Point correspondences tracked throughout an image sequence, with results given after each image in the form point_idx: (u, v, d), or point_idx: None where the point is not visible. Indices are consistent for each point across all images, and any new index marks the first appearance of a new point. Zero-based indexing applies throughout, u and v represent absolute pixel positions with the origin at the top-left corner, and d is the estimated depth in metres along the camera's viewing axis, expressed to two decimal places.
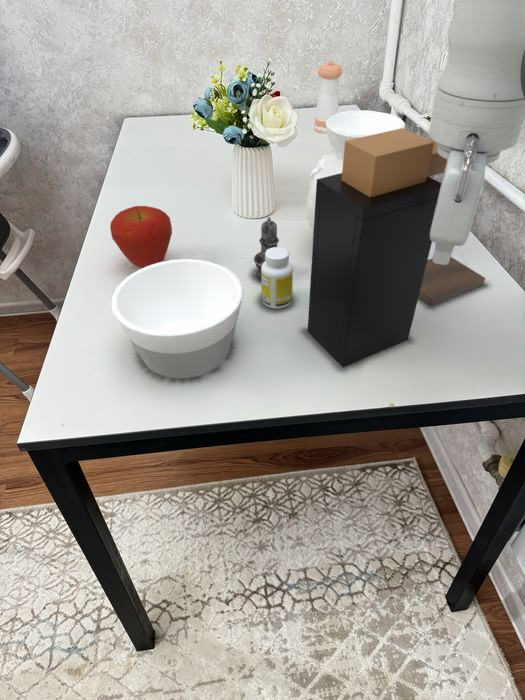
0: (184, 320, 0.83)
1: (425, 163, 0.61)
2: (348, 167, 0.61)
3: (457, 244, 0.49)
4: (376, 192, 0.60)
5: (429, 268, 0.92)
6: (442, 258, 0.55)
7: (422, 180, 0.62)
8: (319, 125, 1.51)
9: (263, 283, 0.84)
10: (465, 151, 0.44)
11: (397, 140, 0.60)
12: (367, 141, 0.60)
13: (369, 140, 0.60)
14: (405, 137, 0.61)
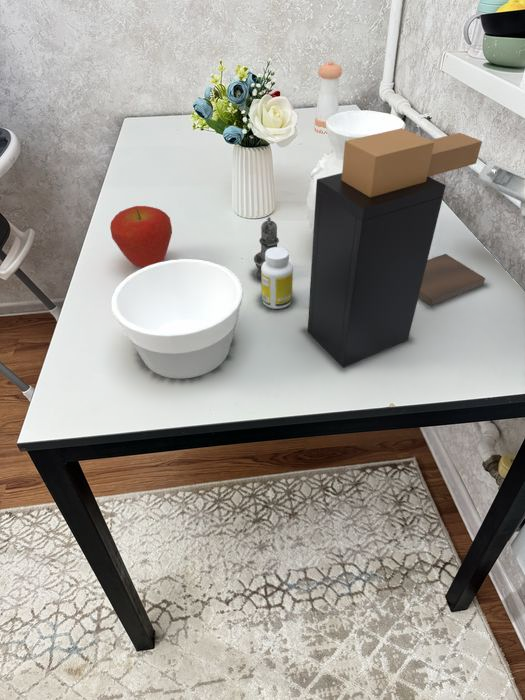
0: (184, 320, 0.83)
1: (425, 163, 0.61)
2: (348, 167, 0.61)
3: (486, 163, 0.86)
4: (376, 192, 0.60)
5: (429, 268, 0.92)
6: None
7: (422, 180, 0.62)
8: (319, 125, 1.51)
9: (263, 283, 0.84)
10: None
11: (397, 140, 0.60)
12: (367, 141, 0.60)
13: (369, 140, 0.60)
14: (405, 137, 0.61)
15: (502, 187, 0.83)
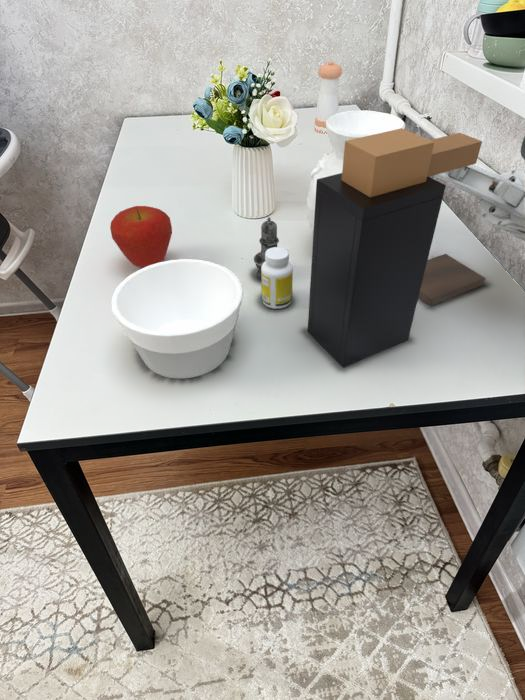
0: (184, 320, 0.83)
1: (425, 163, 0.61)
2: (348, 167, 0.61)
3: None
4: (376, 192, 0.60)
5: (429, 268, 0.92)
6: None
7: (422, 180, 0.62)
8: (319, 125, 1.51)
9: (263, 283, 0.84)
10: None
11: (397, 140, 0.60)
12: (367, 141, 0.60)
13: (369, 140, 0.60)
14: (405, 137, 0.61)
15: (458, 182, 0.77)
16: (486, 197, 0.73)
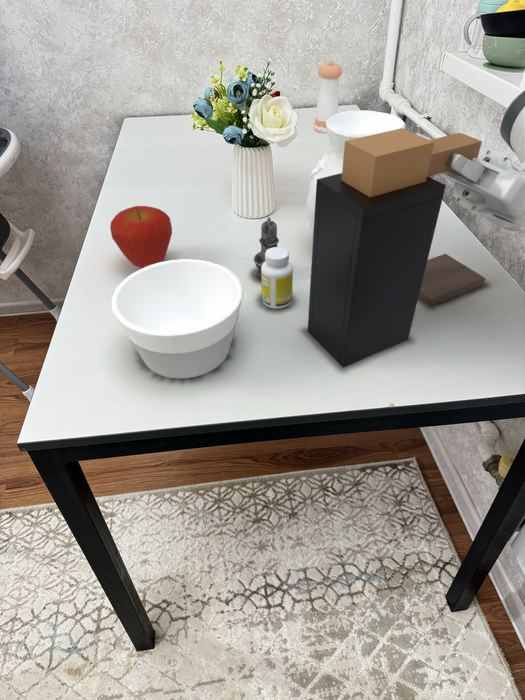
0: (184, 320, 0.83)
1: (425, 163, 0.61)
2: (348, 167, 0.61)
3: None
4: (376, 192, 0.60)
5: (429, 268, 0.92)
6: None
7: (422, 180, 0.62)
8: (319, 125, 1.51)
9: (263, 283, 0.84)
10: None
11: (397, 140, 0.60)
12: (367, 141, 0.60)
13: (369, 140, 0.60)
14: (405, 137, 0.61)
15: None
16: (457, 179, 0.68)
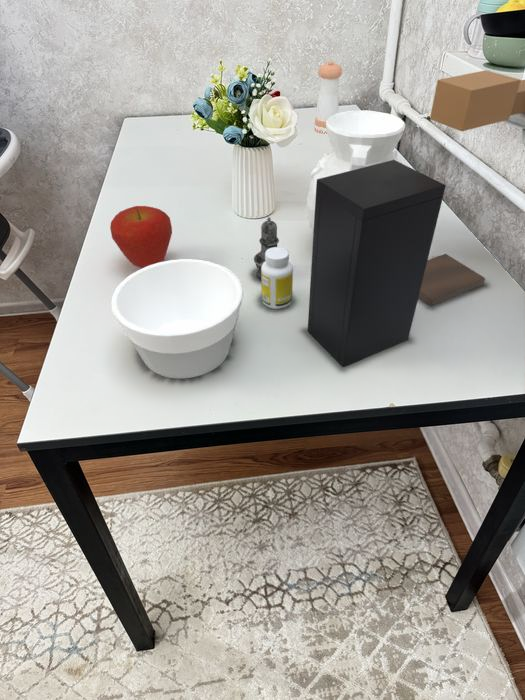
0: (184, 320, 0.83)
1: (510, 100, 0.66)
2: (439, 105, 0.66)
3: None
4: (467, 126, 0.65)
5: (429, 268, 0.92)
6: None
7: (506, 117, 0.67)
8: (319, 125, 1.51)
9: (263, 283, 0.84)
10: None
11: (486, 79, 0.65)
12: (458, 80, 0.65)
13: (460, 79, 0.65)
14: (492, 76, 0.66)
15: None
16: None
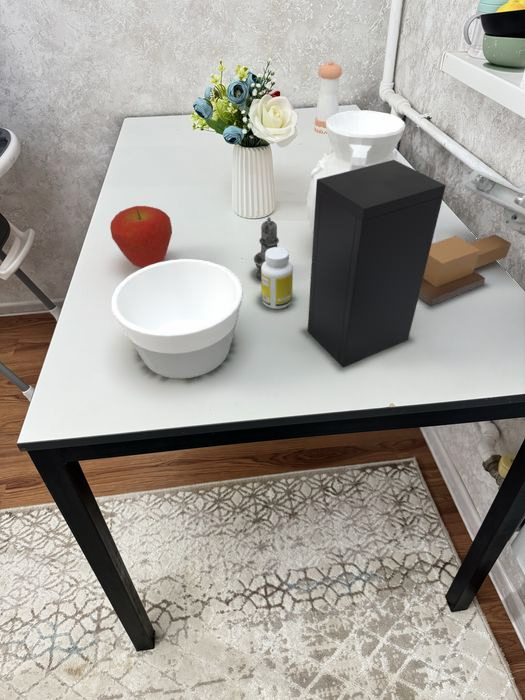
0: (184, 320, 0.83)
1: (473, 263, 0.89)
2: None
3: None
4: (440, 283, 0.88)
5: None
6: None
7: (470, 272, 0.90)
8: (319, 125, 1.51)
9: (263, 283, 0.84)
10: None
11: (454, 248, 0.88)
12: (434, 249, 0.88)
13: (435, 248, 0.88)
14: (459, 245, 0.89)
15: (485, 194, 0.90)
16: (510, 207, 0.86)
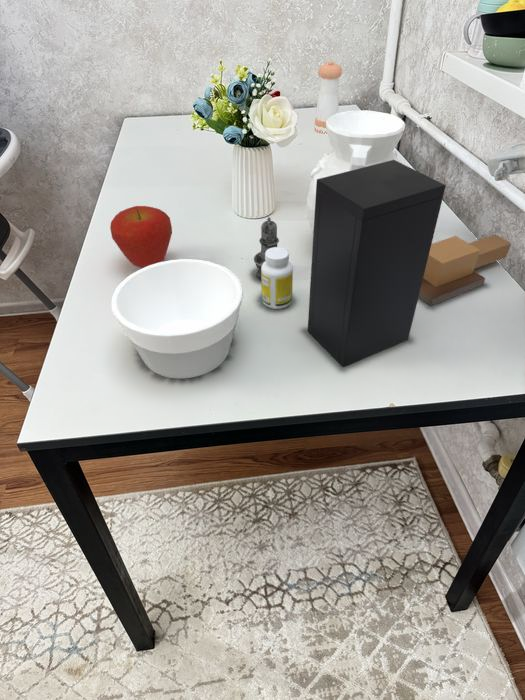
0: (184, 320, 0.83)
1: (473, 263, 0.89)
2: None
3: (487, 162, 0.90)
4: (440, 283, 0.88)
5: None
6: None
7: (470, 272, 0.90)
8: (319, 125, 1.51)
9: (263, 283, 0.84)
10: None
11: (454, 248, 0.88)
12: (434, 249, 0.88)
13: (435, 248, 0.88)
14: (459, 245, 0.89)
15: (517, 172, 0.87)
16: None
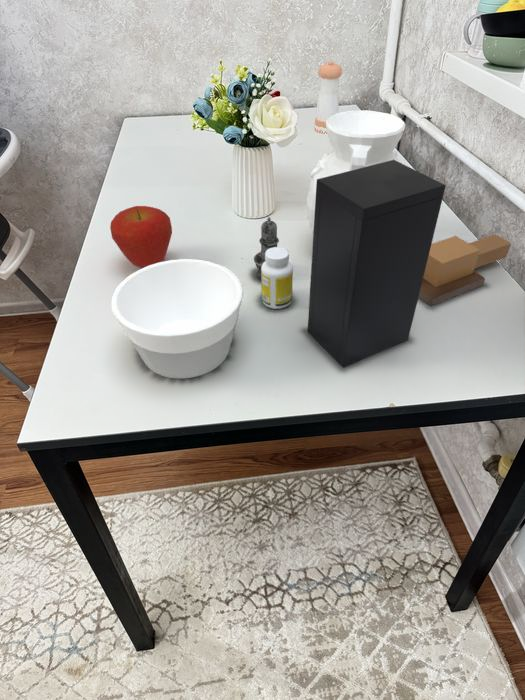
0: (184, 320, 0.83)
1: (473, 263, 0.89)
2: None
3: None
4: (440, 283, 0.88)
5: None
6: None
7: (470, 272, 0.90)
8: (319, 125, 1.51)
9: (263, 283, 0.84)
10: None
11: (454, 248, 0.88)
12: (434, 249, 0.88)
13: (435, 248, 0.88)
14: (459, 245, 0.89)
15: None
16: None
